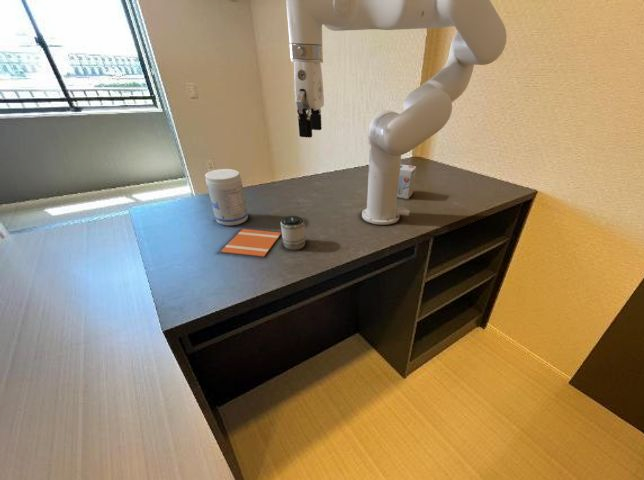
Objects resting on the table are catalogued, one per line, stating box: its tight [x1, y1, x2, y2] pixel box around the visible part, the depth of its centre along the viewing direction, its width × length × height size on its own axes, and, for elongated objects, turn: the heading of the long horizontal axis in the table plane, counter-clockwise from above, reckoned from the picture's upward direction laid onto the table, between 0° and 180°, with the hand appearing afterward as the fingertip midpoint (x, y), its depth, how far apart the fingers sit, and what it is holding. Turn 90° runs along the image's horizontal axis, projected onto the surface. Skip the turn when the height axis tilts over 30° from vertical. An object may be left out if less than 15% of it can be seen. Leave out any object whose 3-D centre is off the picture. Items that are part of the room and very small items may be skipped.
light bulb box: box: [397, 163, 417, 200], centre depth 114 cm, size 11×7×11 cm, turn 68°
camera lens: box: [279, 215, 307, 251], centre depth 81 cm, size 6×6×8 cm
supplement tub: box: [204, 168, 249, 227], centre depth 90 cm, size 10×10×15 cm
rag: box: [220, 228, 282, 258], centre depth 84 cm, size 12×13×1 cm
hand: (311, 133), depth 80 cm, fingers open, 9 cm apart
